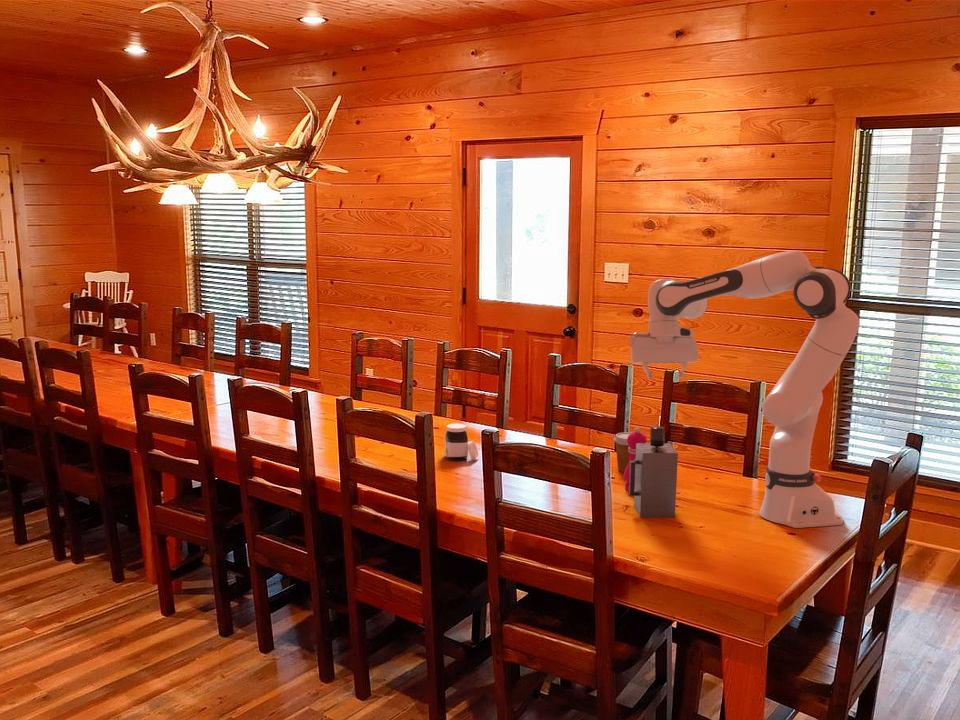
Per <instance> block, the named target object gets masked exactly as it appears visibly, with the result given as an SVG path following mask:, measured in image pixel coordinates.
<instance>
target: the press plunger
mask: <svg viewBox="0 0 960 720" xmlns="http://www.w3.org/2000/svg"><path fill="white" fill-rule="evenodd" d="M665 429H666V428H665V427H663V426H658V425H657V426H656V425H652V426H650V429H649V430H650V432H649V434H650V435H649V443H650V445H651V446H655V449H658V448H659V447H661V446H664V443H665V431H666V430H665Z"/></svg>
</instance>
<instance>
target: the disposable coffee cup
mask: <svg viewBox="0 0 960 720" xmlns="http://www.w3.org/2000/svg"><path fill="white" fill-rule="evenodd" d="M631 433H632V432H628V431H627V432H618V433H616V434H615V436H614V438H613V440H614V442H615V451H616V460H617V470H618V471H619V472H621V471H622V472H621V473H624V472H625V469H626V467H627V465H628V463H629V460H630V452H628V450H629V449H628V448H629V447H630V446H629V445H628V443H627V438H628V436H629V434H631Z"/></svg>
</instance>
